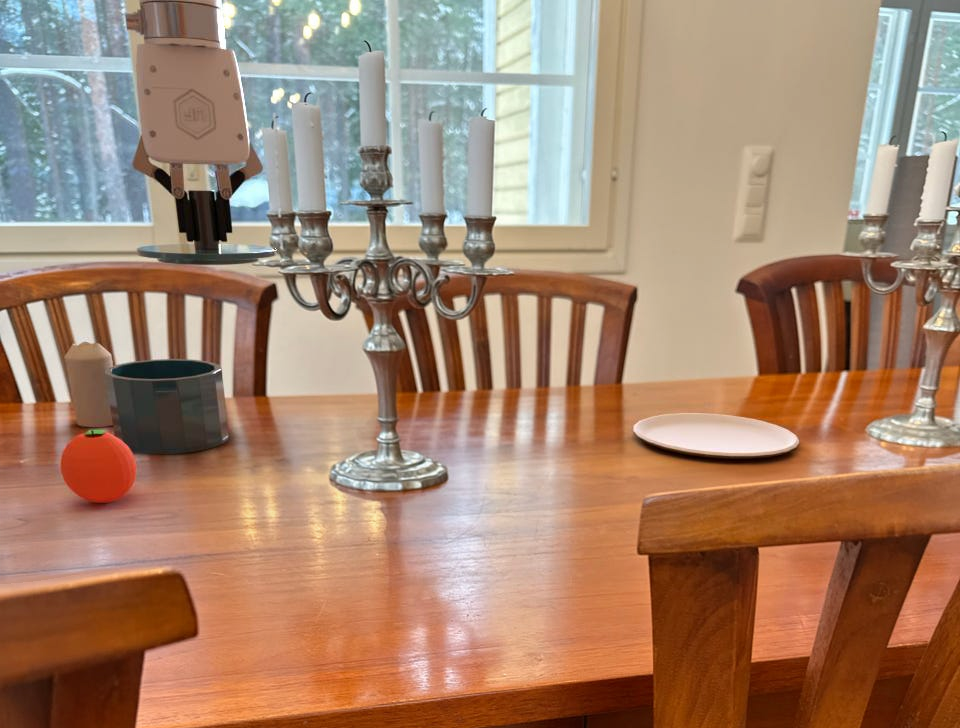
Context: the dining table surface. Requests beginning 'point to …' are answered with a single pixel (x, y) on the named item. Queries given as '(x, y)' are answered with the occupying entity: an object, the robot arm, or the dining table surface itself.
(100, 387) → the candle
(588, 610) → the dining table surface
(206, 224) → the lid
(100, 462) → the clementine
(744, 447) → the plate
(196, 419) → the pot
